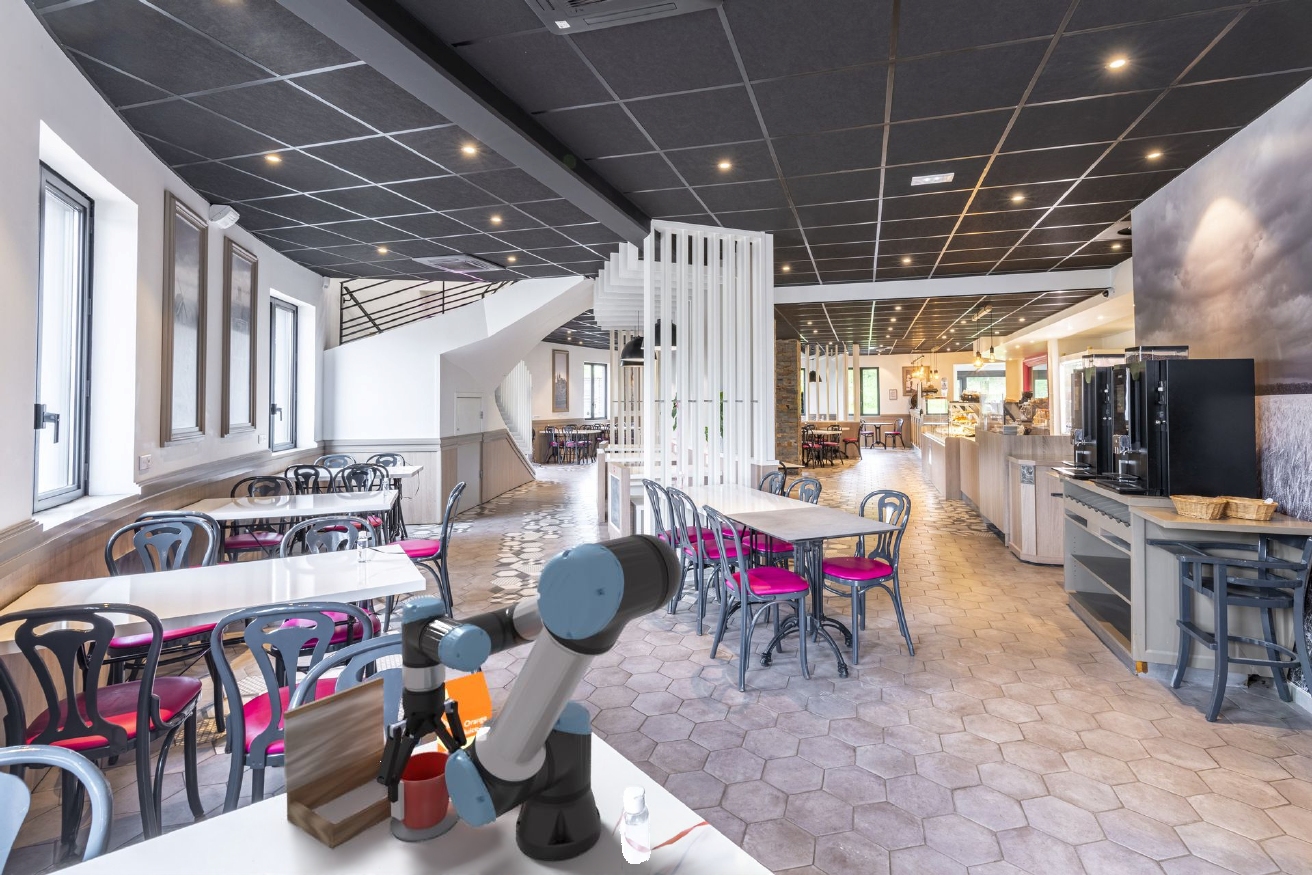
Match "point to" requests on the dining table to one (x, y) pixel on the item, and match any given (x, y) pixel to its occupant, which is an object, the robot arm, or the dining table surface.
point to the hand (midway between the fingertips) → (424, 801)
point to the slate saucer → (428, 833)
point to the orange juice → (468, 705)
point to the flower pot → (425, 790)
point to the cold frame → (334, 759)
